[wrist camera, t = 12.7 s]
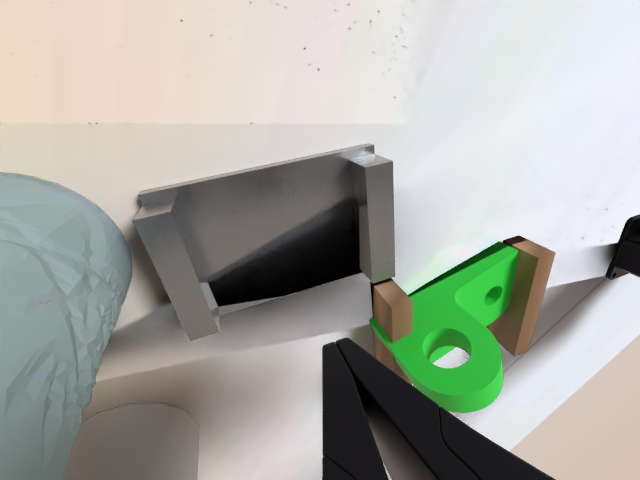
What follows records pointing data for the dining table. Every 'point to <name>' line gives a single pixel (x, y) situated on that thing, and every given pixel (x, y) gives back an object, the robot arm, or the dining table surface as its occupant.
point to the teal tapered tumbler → (52, 318)
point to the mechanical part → (458, 330)
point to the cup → (136, 445)
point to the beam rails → (507, 329)
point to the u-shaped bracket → (269, 232)
